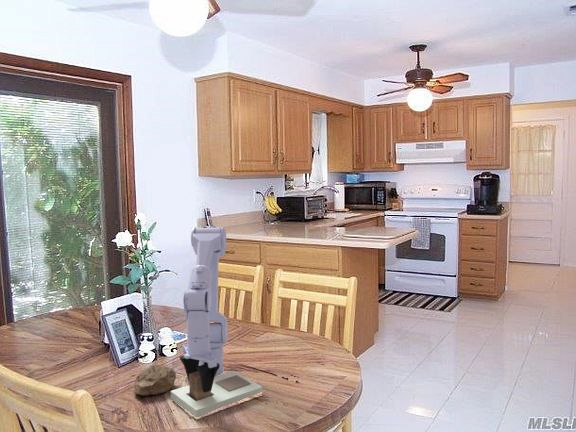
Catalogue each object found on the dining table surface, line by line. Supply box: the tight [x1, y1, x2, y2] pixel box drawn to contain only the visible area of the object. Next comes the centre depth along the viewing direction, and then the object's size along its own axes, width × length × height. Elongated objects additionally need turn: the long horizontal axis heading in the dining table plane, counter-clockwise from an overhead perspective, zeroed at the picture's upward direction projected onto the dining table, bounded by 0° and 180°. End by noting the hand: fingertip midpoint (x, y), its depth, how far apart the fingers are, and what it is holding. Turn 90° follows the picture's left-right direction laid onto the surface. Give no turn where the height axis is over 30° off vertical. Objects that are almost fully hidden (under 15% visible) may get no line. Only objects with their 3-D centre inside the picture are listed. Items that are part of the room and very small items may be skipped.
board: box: [170, 370, 264, 417], centre depth 128 cm, size 14×20×3 cm
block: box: [188, 371, 211, 401], centre depth 125 cm, size 4×4×8 cm
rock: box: [133, 364, 177, 397], centre depth 134 cm, size 13×11×5 cm
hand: (199, 386), depth 125 cm, fingers open, 7 cm apart
